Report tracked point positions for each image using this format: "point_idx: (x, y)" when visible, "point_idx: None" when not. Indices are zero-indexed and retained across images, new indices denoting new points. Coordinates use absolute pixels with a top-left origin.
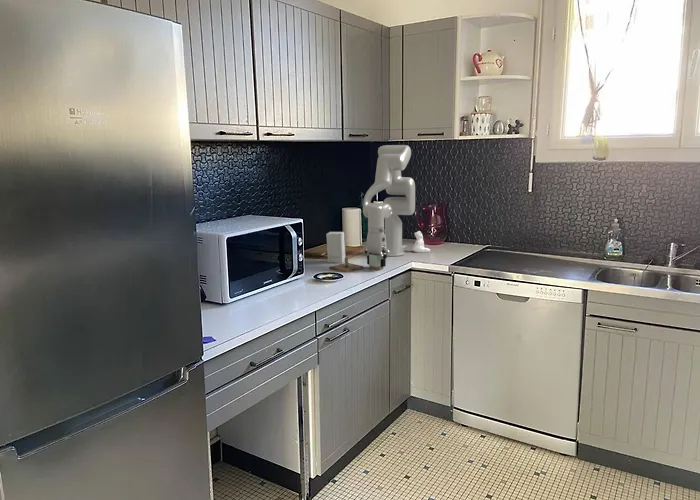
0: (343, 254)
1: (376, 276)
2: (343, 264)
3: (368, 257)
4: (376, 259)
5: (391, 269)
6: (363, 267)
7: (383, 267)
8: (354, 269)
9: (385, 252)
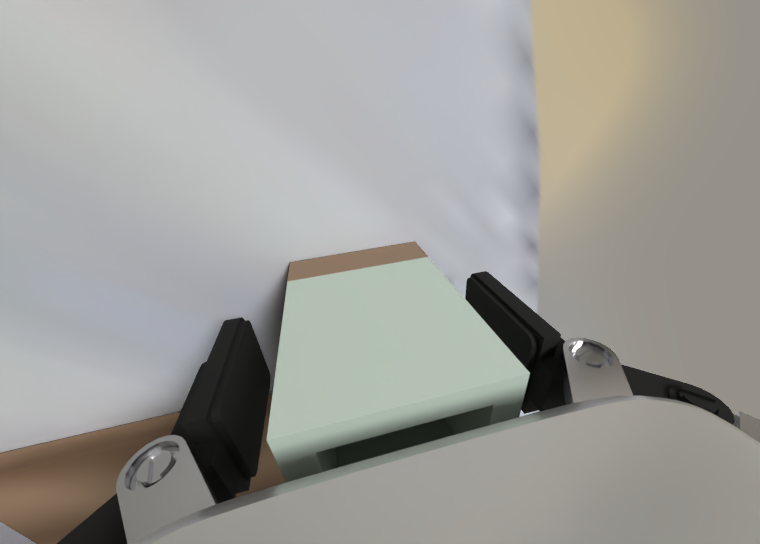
0: None
1: (537, 410)
2: (61, 519)
3: (257, 469)
4: None
5: (520, 209)
6: (268, 397)
7: (417, 244)
8: None
9: (652, 409)
